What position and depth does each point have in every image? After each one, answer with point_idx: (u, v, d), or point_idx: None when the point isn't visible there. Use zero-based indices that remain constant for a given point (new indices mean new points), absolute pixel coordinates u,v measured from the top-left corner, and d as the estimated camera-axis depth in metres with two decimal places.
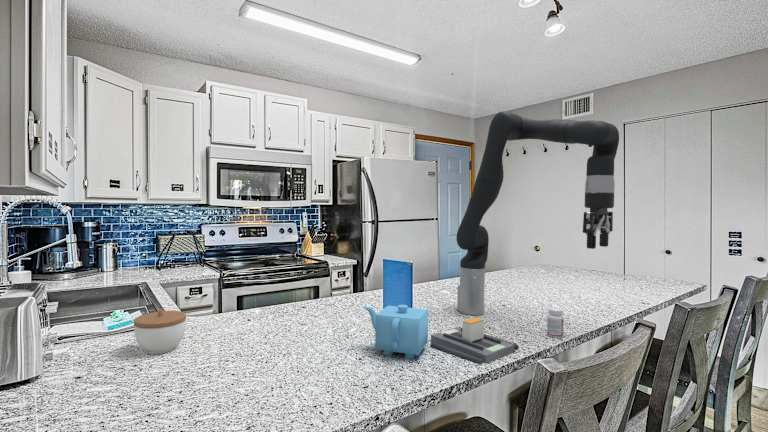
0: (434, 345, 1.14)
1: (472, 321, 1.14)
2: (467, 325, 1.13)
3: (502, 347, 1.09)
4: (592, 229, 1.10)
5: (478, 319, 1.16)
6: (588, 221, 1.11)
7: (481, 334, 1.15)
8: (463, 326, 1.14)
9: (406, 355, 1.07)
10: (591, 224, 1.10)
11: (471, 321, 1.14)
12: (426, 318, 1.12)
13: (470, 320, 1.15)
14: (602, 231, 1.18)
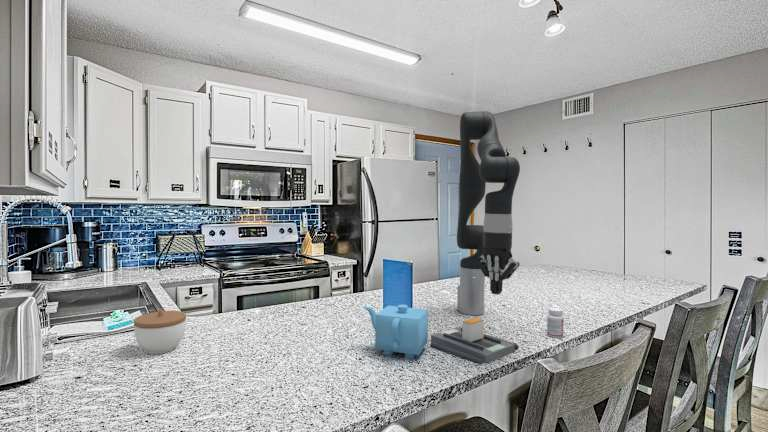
0: (434, 345, 1.14)
1: (472, 321, 1.14)
2: (467, 325, 1.13)
3: (502, 347, 1.09)
4: None
5: (478, 319, 1.16)
6: (512, 271, 1.05)
7: (481, 334, 1.15)
8: (463, 326, 1.14)
9: (406, 355, 1.07)
10: None
11: (471, 321, 1.14)
12: (426, 318, 1.12)
13: (470, 320, 1.15)
14: (493, 276, 1.08)
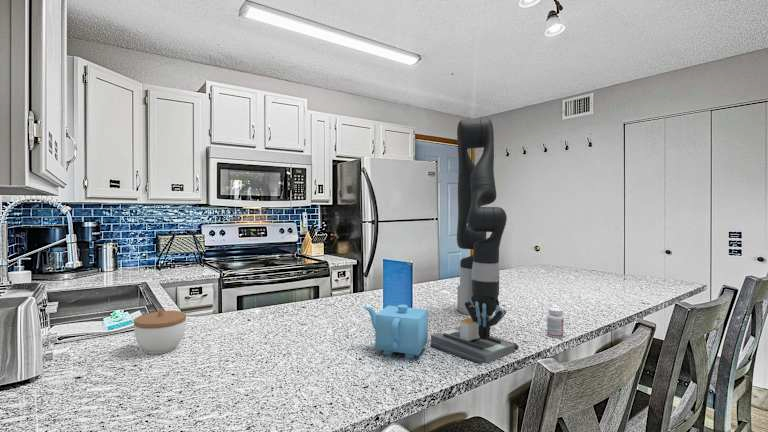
0: (434, 345, 1.14)
1: (470, 320, 1.14)
2: (464, 324, 1.13)
3: (502, 347, 1.09)
4: None
5: None
6: (499, 319, 1.08)
7: None
8: (461, 325, 1.14)
9: (406, 355, 1.07)
10: None
11: (469, 320, 1.14)
12: (426, 318, 1.12)
13: (468, 319, 1.15)
14: (482, 322, 1.12)
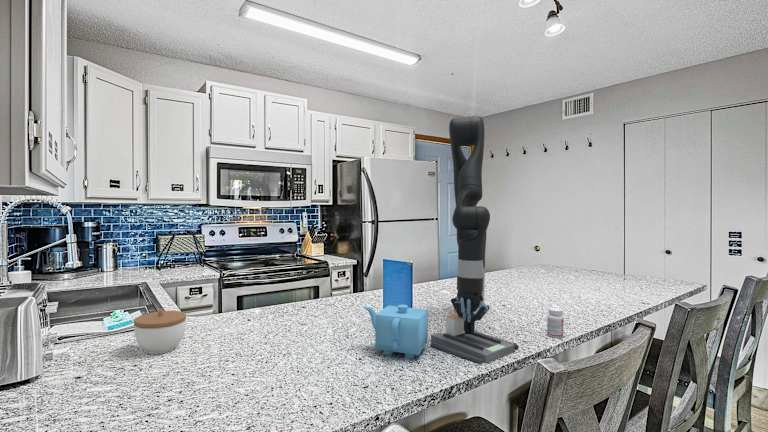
0: (434, 345, 1.14)
1: (456, 316, 1.18)
2: (450, 320, 1.17)
3: (502, 347, 1.09)
4: None
5: None
6: (483, 314, 1.12)
7: None
8: (447, 321, 1.18)
9: (406, 355, 1.07)
10: None
11: (455, 316, 1.18)
12: (426, 318, 1.12)
13: (454, 315, 1.19)
14: (467, 317, 1.16)
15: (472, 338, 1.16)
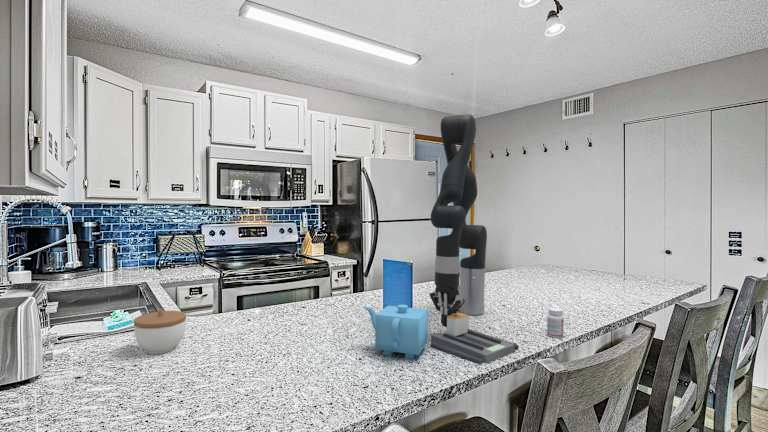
0: (434, 345, 1.14)
1: (456, 316, 1.18)
2: (451, 320, 1.17)
3: (502, 347, 1.09)
4: None
5: (462, 314, 1.20)
6: (458, 307, 1.19)
7: (465, 329, 1.19)
8: (448, 321, 1.18)
9: (406, 355, 1.07)
10: (458, 308, 1.20)
11: (455, 316, 1.18)
12: (426, 318, 1.12)
13: (455, 315, 1.19)
14: None
15: (472, 338, 1.16)
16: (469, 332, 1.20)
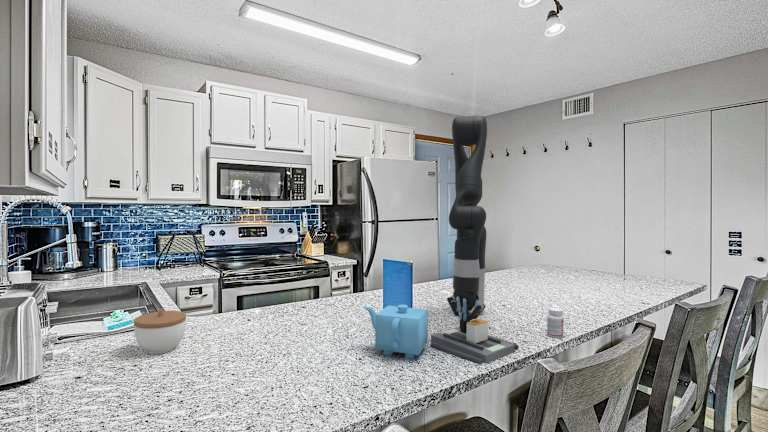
0: (434, 345, 1.14)
1: (476, 322, 1.12)
2: (471, 326, 1.11)
3: (502, 347, 1.09)
4: None
5: (482, 320, 1.14)
6: (478, 313, 1.13)
7: (485, 335, 1.14)
8: (467, 327, 1.13)
9: (406, 355, 1.07)
10: None
11: (475, 322, 1.12)
12: (426, 318, 1.12)
13: (475, 321, 1.14)
14: None
15: None
16: None
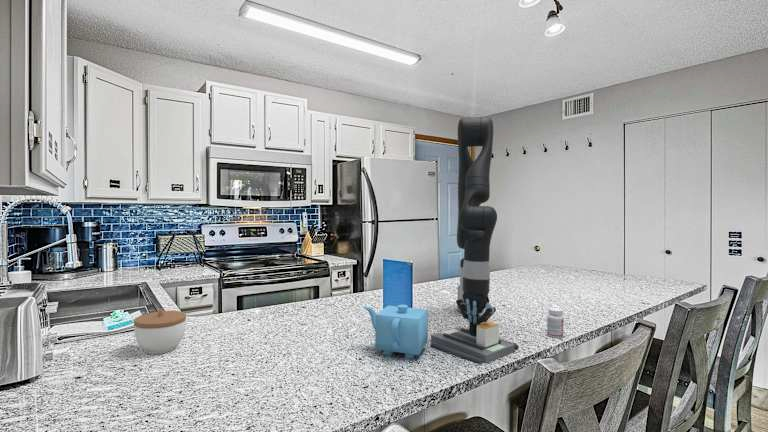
0: (434, 345, 1.14)
1: (487, 325, 1.10)
2: (481, 330, 1.09)
3: (502, 347, 1.09)
4: None
5: (493, 323, 1.12)
6: (489, 316, 1.10)
7: (496, 339, 1.11)
8: (477, 331, 1.10)
9: (406, 355, 1.07)
10: None
11: (486, 325, 1.10)
12: (426, 318, 1.12)
13: (485, 324, 1.11)
14: None
15: (472, 338, 1.16)
16: (469, 332, 1.20)
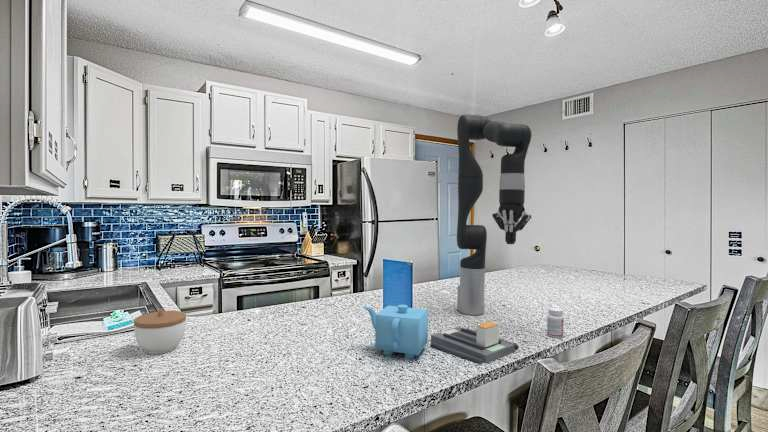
0: (434, 345, 1.14)
1: (487, 325, 1.10)
2: (481, 330, 1.09)
3: (502, 347, 1.09)
4: None
5: (493, 323, 1.12)
6: (525, 223, 1.20)
7: (496, 339, 1.11)
8: (477, 331, 1.10)
9: (406, 355, 1.07)
10: (524, 224, 1.21)
11: (486, 325, 1.10)
12: (426, 318, 1.12)
13: (485, 324, 1.11)
14: (508, 228, 1.24)
15: (472, 338, 1.16)
16: (469, 332, 1.20)
